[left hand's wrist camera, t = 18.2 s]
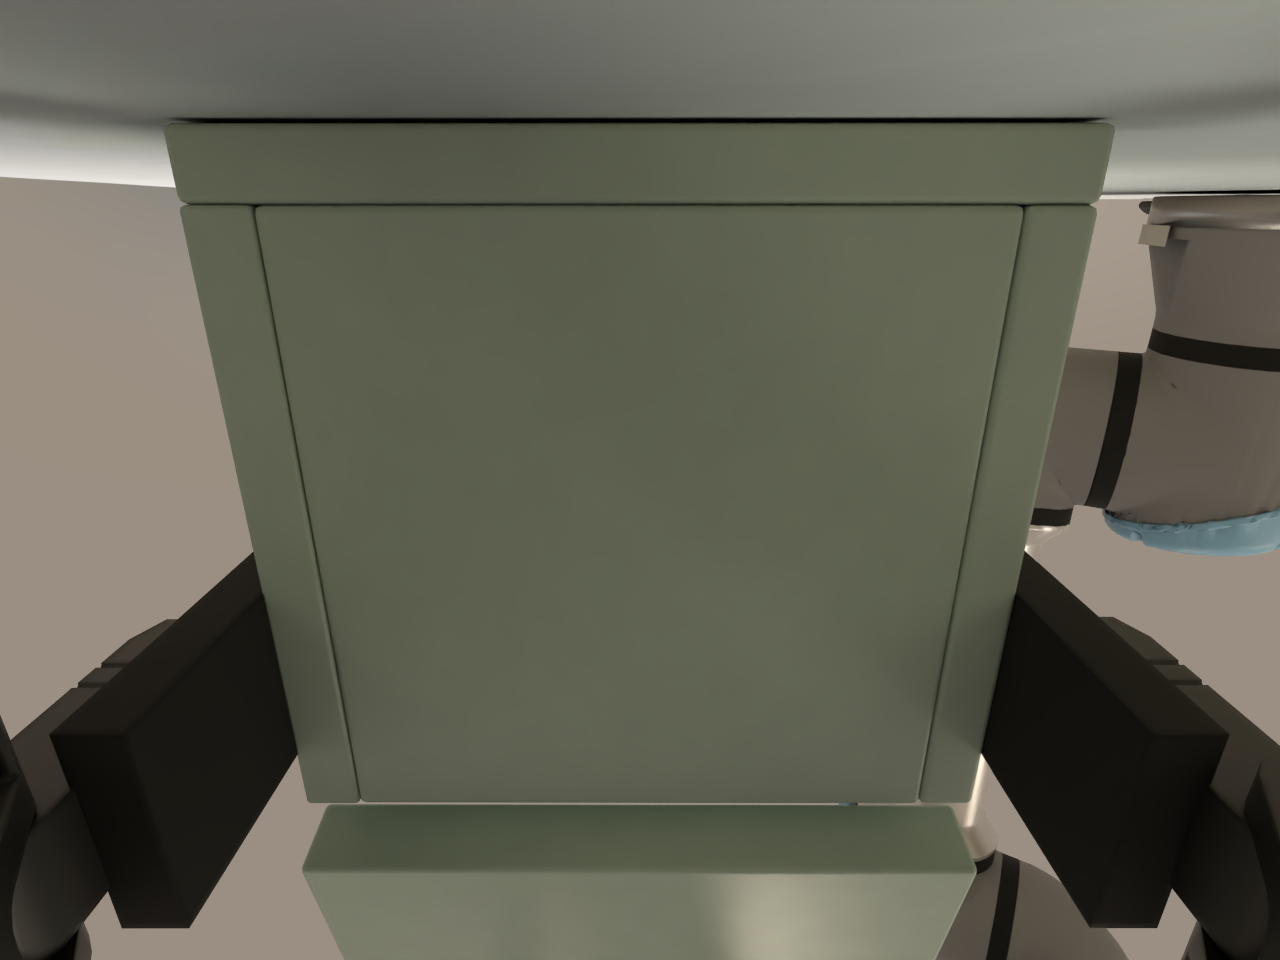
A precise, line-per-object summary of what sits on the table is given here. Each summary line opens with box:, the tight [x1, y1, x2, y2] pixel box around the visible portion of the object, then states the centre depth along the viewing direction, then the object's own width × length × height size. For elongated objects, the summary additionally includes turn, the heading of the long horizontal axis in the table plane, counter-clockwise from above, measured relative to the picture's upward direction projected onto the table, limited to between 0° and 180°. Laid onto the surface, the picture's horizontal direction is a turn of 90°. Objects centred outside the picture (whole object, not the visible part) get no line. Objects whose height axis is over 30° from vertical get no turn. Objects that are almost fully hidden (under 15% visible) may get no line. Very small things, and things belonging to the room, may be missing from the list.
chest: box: [164, 123, 1115, 803], centre depth 15 cm, size 13×10×9 cm
